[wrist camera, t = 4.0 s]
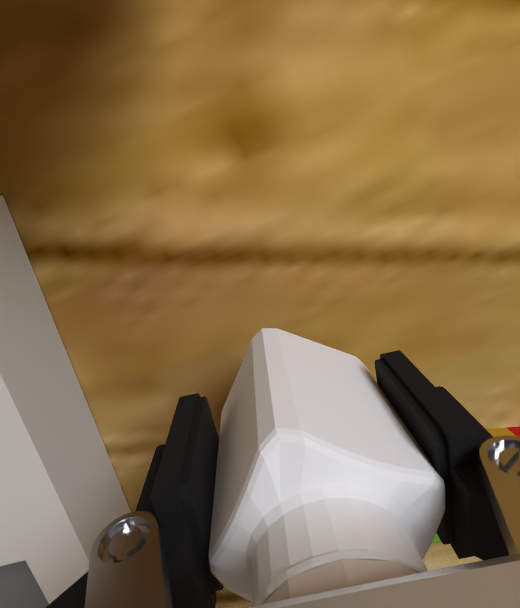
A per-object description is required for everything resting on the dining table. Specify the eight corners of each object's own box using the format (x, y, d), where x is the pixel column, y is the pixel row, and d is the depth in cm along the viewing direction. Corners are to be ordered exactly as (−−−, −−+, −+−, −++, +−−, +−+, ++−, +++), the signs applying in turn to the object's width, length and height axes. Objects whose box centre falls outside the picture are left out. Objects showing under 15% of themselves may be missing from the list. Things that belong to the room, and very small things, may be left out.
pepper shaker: (319, 447, 14) (455, 913, 5) (216, 415, 14) (164, 877, 5) (366, 354, 13) (642, 731, 4) (258, 315, 13) (298, 653, 3)
